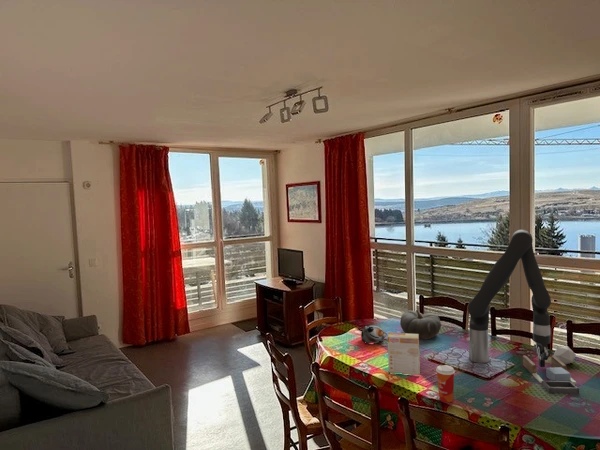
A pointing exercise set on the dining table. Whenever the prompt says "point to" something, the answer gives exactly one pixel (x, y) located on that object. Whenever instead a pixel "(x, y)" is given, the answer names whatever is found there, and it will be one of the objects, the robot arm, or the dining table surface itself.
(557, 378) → the block
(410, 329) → the gourd
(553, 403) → the dining table surface
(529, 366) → the tunnel
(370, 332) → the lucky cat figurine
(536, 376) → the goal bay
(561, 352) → the die
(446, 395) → the paper cup
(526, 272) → the robot arm
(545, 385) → the tray
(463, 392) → the dining table surface
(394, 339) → the coffeecake box
